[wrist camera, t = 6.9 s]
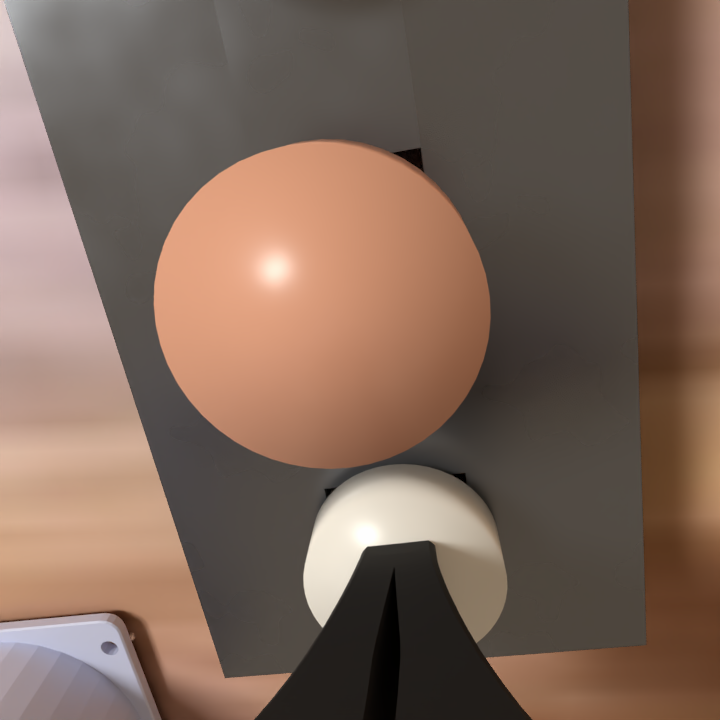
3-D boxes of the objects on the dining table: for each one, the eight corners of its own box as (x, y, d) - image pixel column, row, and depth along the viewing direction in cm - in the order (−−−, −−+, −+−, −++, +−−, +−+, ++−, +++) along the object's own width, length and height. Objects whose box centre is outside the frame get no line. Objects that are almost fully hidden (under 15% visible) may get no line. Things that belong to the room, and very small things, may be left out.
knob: (491, 528, 17) (516, 656, 13) (343, 544, 18) (324, 671, 14) (474, 392, 16) (496, 488, 12) (314, 413, 16) (283, 512, 12)
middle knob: (474, 337, 12) (506, 449, 8) (268, 366, 13) (202, 485, 9) (446, 111, 11) (469, 111, 7) (216, 154, 11) (110, 179, 7)
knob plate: (608, 559, 17) (646, 644, 15) (252, 593, 19) (225, 678, 16) (556, -440, 11) (609, -637, 8) (-1, -278, 12) (-127, -398, 9)
